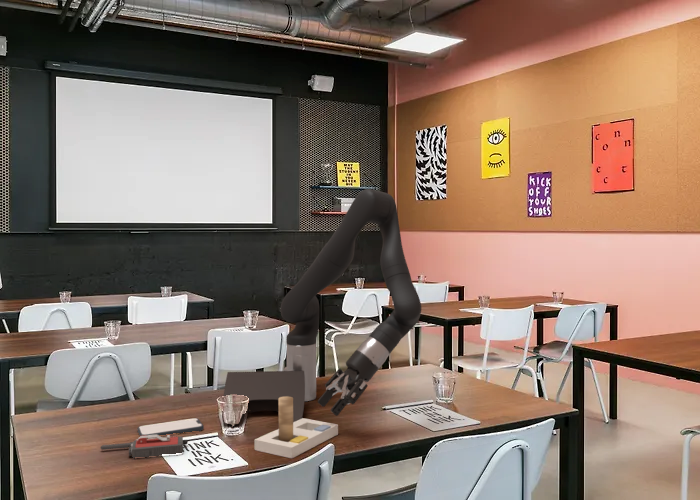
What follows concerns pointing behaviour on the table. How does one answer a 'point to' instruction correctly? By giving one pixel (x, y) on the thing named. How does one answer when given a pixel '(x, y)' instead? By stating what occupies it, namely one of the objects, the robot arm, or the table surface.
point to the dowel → (285, 418)
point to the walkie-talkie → (151, 446)
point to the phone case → (171, 427)
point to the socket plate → (297, 438)
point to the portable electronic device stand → (268, 389)
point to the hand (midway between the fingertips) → (326, 408)
